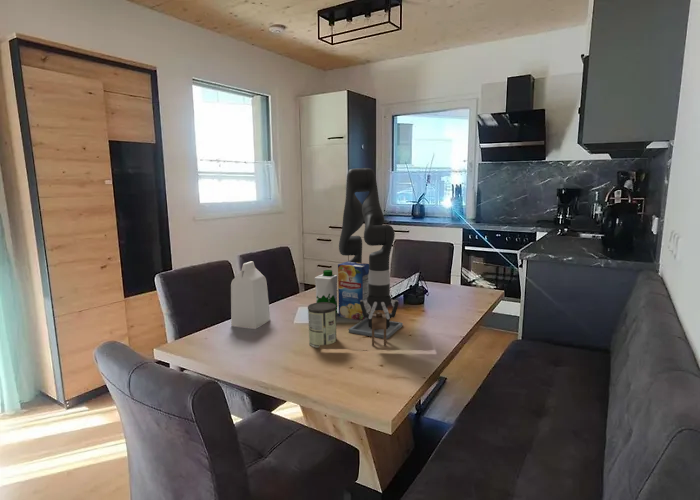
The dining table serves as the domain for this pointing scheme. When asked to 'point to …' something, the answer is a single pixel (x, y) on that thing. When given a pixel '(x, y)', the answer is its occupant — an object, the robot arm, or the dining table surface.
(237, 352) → the dining table surface
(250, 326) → the milk
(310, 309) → the coffee can
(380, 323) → the wooden stool
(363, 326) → the tray
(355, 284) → the juice carton
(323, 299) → the milk carton
